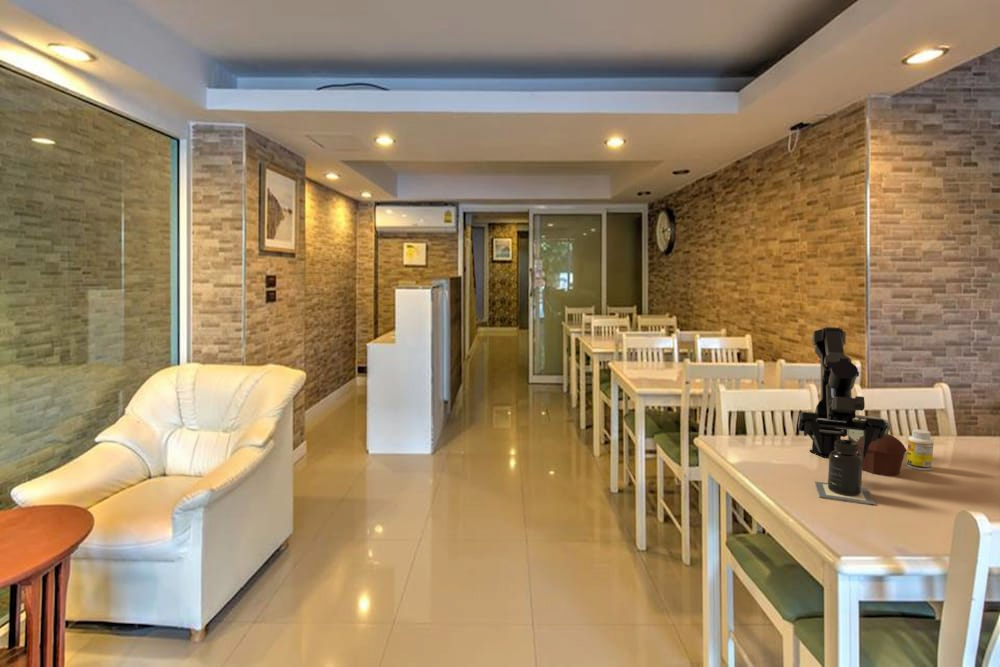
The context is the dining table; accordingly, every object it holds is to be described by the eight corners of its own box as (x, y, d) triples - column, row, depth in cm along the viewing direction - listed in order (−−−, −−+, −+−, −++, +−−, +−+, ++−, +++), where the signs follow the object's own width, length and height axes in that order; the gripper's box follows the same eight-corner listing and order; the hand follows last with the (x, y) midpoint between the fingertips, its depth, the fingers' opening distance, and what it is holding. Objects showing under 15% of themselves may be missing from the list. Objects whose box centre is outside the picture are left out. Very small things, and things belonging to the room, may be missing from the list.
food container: (897, 454, 170) (900, 421, 169) (888, 458, 167) (890, 423, 166) (852, 444, 180) (855, 413, 179) (843, 447, 177) (845, 415, 176)
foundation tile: (814, 482, 144) (815, 481, 144) (866, 489, 140) (866, 487, 140) (819, 497, 134) (819, 495, 134) (875, 505, 130) (875, 503, 130)
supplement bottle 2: (907, 463, 162) (910, 427, 161) (931, 467, 158) (934, 430, 157) (905, 468, 157) (908, 431, 156) (930, 472, 154) (933, 434, 153)
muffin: (844, 464, 160) (846, 428, 159) (881, 463, 161) (884, 428, 160) (875, 478, 148) (878, 440, 148) (916, 477, 149) (919, 439, 149)
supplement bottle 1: (843, 485, 141) (846, 437, 140) (867, 495, 135) (871, 444, 134) (820, 487, 140) (823, 438, 139) (844, 497, 133) (847, 446, 132)
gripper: (801, 380, 148) (802, 433, 139) (888, 386, 141) (894, 443, 132) (797, 404, 156) (798, 455, 147) (879, 411, 149) (884, 466, 140)
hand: (842, 454), depth 141 cm, fingers open, 9 cm apart
